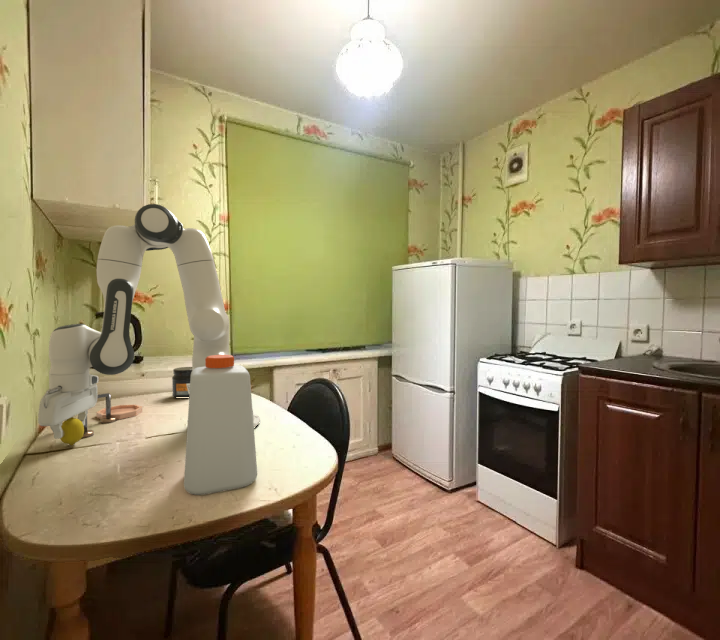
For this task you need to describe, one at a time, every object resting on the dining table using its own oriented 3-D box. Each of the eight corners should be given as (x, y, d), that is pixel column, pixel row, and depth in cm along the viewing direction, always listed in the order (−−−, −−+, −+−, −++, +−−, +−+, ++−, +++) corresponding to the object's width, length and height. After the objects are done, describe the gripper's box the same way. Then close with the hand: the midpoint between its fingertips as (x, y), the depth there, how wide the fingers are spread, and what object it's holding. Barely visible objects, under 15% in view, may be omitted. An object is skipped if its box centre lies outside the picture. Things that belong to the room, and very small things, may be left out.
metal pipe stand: (118, 419, 128) (118, 390, 128) (88, 437, 110) (87, 404, 110) (79, 420, 126) (78, 391, 126) (41, 440, 108) (40, 406, 108)
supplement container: (195, 399, 156) (194, 370, 156) (168, 399, 155) (168, 370, 154) (202, 393, 166) (202, 366, 166) (177, 393, 165) (176, 366, 165)
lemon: (55, 447, 103) (54, 418, 103) (78, 440, 108) (77, 413, 107) (65, 450, 100) (64, 421, 100) (88, 444, 105) (87, 416, 105)
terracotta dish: (146, 408, 141) (146, 404, 141) (131, 419, 128) (131, 413, 128) (109, 410, 139) (109, 405, 139) (90, 420, 126) (90, 415, 126)
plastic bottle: (185, 470, 89) (183, 353, 88) (250, 460, 95) (250, 350, 94) (183, 501, 75) (181, 363, 74) (260, 486, 81) (259, 359, 80)
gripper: (57, 390, 94) (58, 445, 94) (101, 375, 114) (102, 420, 114) (29, 391, 93) (30, 446, 93) (79, 375, 113) (79, 421, 114)
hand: (70, 431), depth 104 cm, fingers open, 8 cm apart
